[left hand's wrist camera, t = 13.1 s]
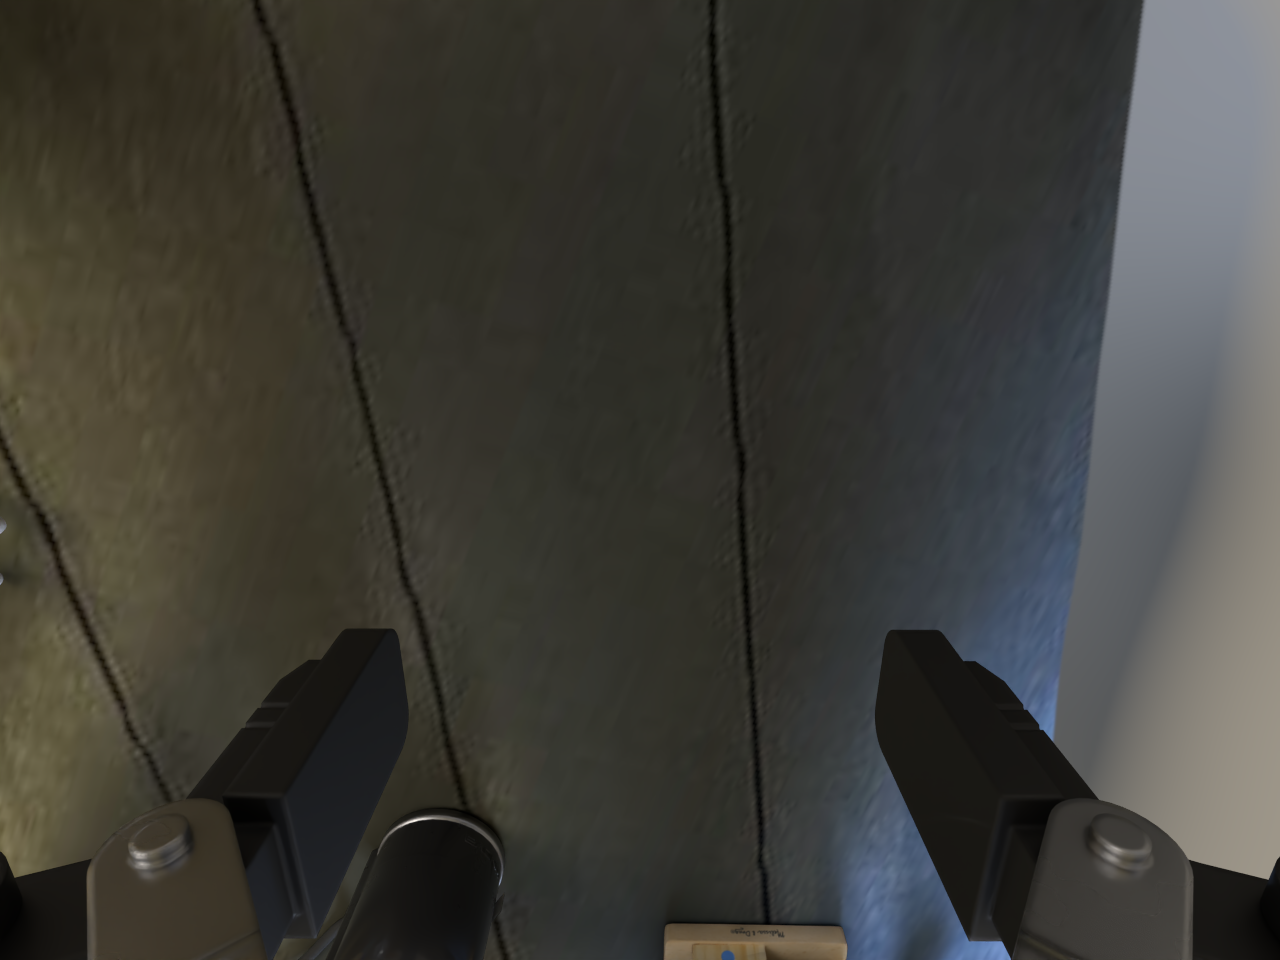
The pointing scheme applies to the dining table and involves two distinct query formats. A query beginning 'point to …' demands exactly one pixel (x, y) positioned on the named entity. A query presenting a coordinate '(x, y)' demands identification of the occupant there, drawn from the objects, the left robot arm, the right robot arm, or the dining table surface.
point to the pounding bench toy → (753, 942)
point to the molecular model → (0, 527)
